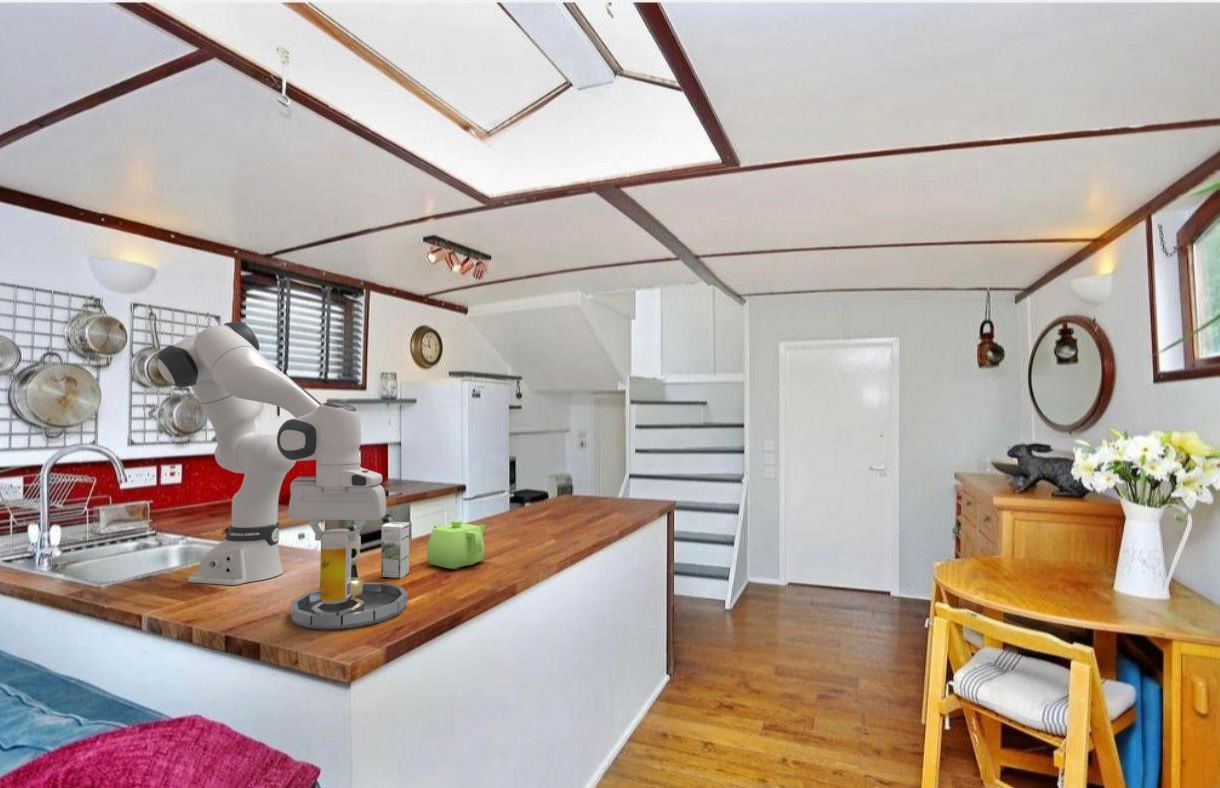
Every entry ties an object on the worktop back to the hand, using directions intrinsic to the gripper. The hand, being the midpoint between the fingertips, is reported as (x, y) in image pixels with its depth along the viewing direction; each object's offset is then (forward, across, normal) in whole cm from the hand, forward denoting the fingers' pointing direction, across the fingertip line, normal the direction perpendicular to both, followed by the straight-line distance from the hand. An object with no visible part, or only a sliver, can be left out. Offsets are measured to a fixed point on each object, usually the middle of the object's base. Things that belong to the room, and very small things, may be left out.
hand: (337, 540), depth 131 cm
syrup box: (+18, 0, +36) cm, 40 cm away
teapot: (+18, +15, +50) cm, 55 cm away
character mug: (+18, -9, +25) cm, 32 cm away
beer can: (+13, 0, 0) cm, 13 cm away
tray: (+18, 0, +7) cm, 19 cm away
